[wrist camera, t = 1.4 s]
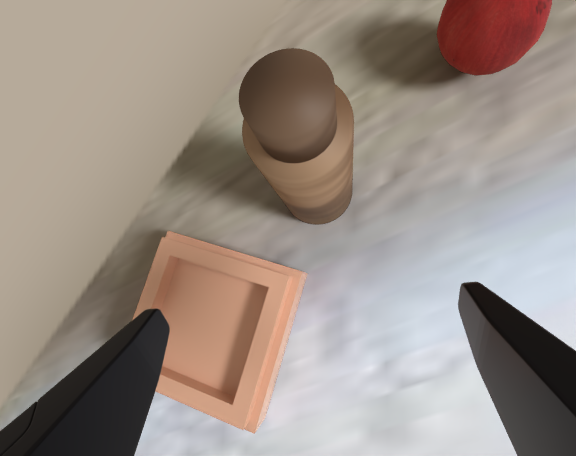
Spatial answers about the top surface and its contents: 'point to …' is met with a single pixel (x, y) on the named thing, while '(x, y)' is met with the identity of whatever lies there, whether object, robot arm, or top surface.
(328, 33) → the top surface
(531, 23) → the onion
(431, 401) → the top surface
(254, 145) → the pepper mill
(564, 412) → the robot arm
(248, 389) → the mill holder
